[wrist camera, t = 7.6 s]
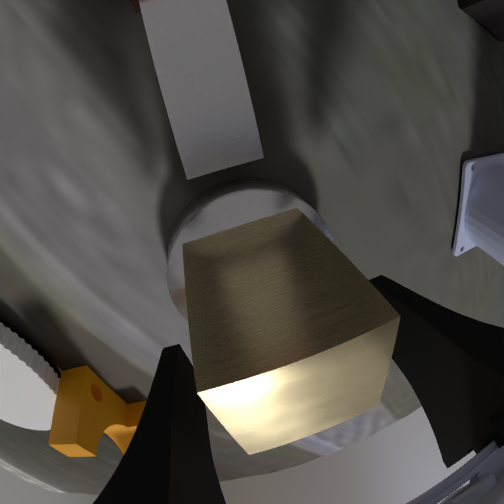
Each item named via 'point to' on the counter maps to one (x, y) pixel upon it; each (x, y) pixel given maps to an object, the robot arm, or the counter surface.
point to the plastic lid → (25, 384)
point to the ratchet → (209, 124)
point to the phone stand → (486, 14)
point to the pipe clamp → (90, 414)
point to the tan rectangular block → (283, 330)
